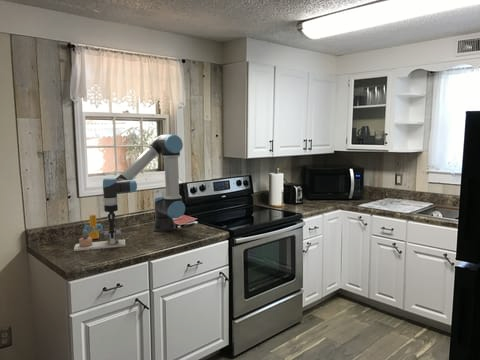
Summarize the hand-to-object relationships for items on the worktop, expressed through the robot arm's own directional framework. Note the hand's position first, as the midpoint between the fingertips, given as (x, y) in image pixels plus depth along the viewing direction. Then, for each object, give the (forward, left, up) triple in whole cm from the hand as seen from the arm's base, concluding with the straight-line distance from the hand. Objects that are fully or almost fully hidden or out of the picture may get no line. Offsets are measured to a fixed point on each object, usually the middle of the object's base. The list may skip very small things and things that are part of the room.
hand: (112, 240), depth 226 cm
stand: (0, 0, -1) cm, 1 cm away
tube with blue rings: (+12, -20, -3) cm, 23 cm away
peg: (+15, 0, -1) cm, 15 cm away
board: (+7, 0, -2) cm, 7 cm away
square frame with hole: (0, 0, +3) cm, 3 cm away
